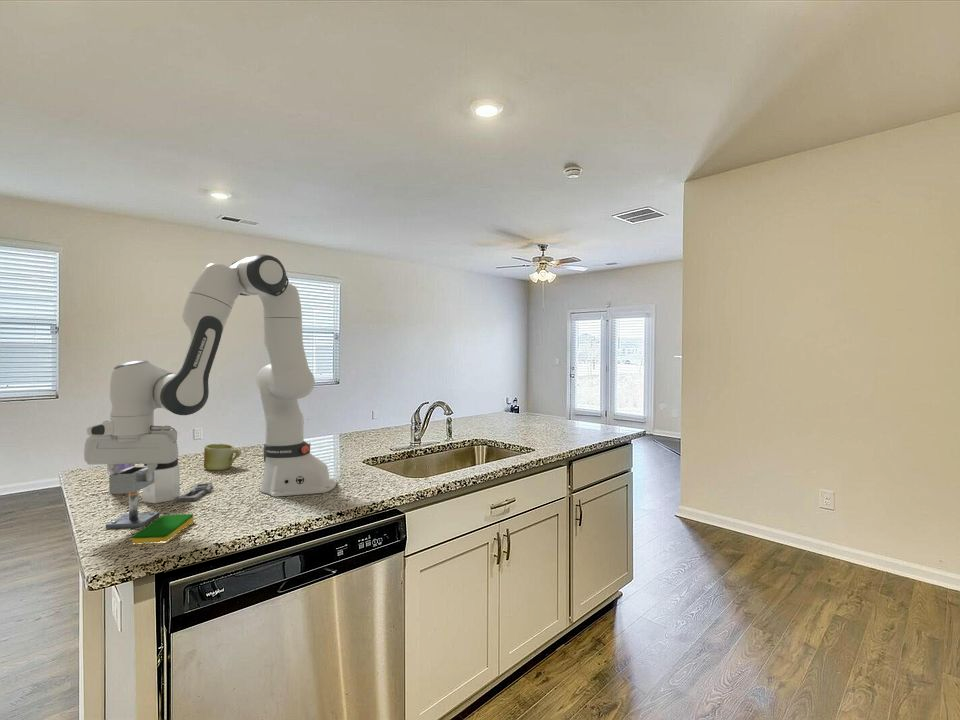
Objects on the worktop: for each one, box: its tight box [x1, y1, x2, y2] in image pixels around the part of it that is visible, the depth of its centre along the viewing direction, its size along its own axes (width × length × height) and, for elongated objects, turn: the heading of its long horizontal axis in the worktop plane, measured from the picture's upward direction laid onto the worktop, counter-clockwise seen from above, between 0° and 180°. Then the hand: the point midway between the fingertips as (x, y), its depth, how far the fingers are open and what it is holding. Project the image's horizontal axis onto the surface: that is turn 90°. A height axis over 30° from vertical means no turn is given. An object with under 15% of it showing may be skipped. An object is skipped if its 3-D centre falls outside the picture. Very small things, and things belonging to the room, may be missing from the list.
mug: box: [203, 443, 242, 471], centre depth 174 cm, size 12×10×10 cm
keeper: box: [105, 491, 160, 529], centre depth 121 cm, size 8×8×8 cm
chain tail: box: [176, 482, 213, 502], centre depth 145 cm, size 7×16×2 cm, turn 7°
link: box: [108, 465, 154, 495], centre depth 121 cm, size 5×9×4 cm, turn 7°
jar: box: [142, 457, 181, 504], centre depth 139 cm, size 9×8×12 cm
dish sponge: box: [131, 513, 194, 543], centre depth 115 cm, size 7×14×2 cm, turn 8°
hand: (132, 481), depth 121 cm, fingers closed on link, 5 cm apart
